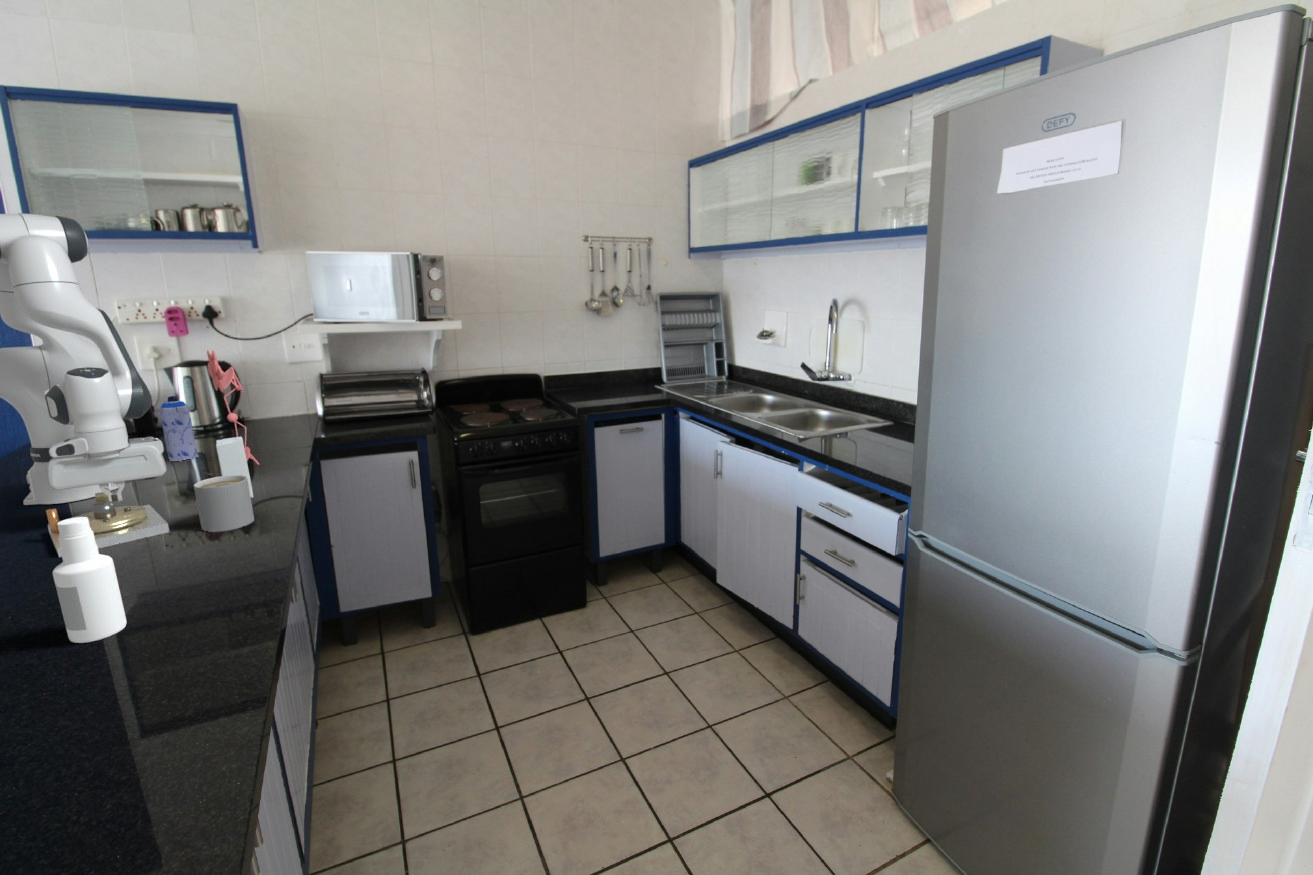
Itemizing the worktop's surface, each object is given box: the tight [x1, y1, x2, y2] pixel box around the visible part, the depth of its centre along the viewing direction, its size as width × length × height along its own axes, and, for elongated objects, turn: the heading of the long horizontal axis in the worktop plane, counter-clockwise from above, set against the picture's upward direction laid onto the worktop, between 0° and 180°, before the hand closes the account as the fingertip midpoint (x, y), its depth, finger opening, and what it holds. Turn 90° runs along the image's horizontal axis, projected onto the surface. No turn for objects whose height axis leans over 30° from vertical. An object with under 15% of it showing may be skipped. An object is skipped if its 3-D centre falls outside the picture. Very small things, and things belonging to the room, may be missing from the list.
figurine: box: [201, 350, 260, 475], centre depth 192 cm, size 15×26×35 cm, turn 42°
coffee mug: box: [193, 475, 255, 533], centre depth 146 cm, size 13×10×10 cm
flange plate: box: [72, 492, 147, 533], centre depth 142 cm, size 16×14×5 cm
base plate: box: [45, 504, 170, 558], centre depth 141 cm, size 20×18×7 cm
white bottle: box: [52, 516, 128, 644], centre depth 97 cm, size 7×7×18 cm
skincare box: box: [215, 436, 254, 499], centre depth 165 cm, size 8×6×15 cm
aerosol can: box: [159, 395, 199, 462], centre depth 205 cm, size 8×8×20 cm
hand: (115, 501), depth 147 cm, fingers closed
